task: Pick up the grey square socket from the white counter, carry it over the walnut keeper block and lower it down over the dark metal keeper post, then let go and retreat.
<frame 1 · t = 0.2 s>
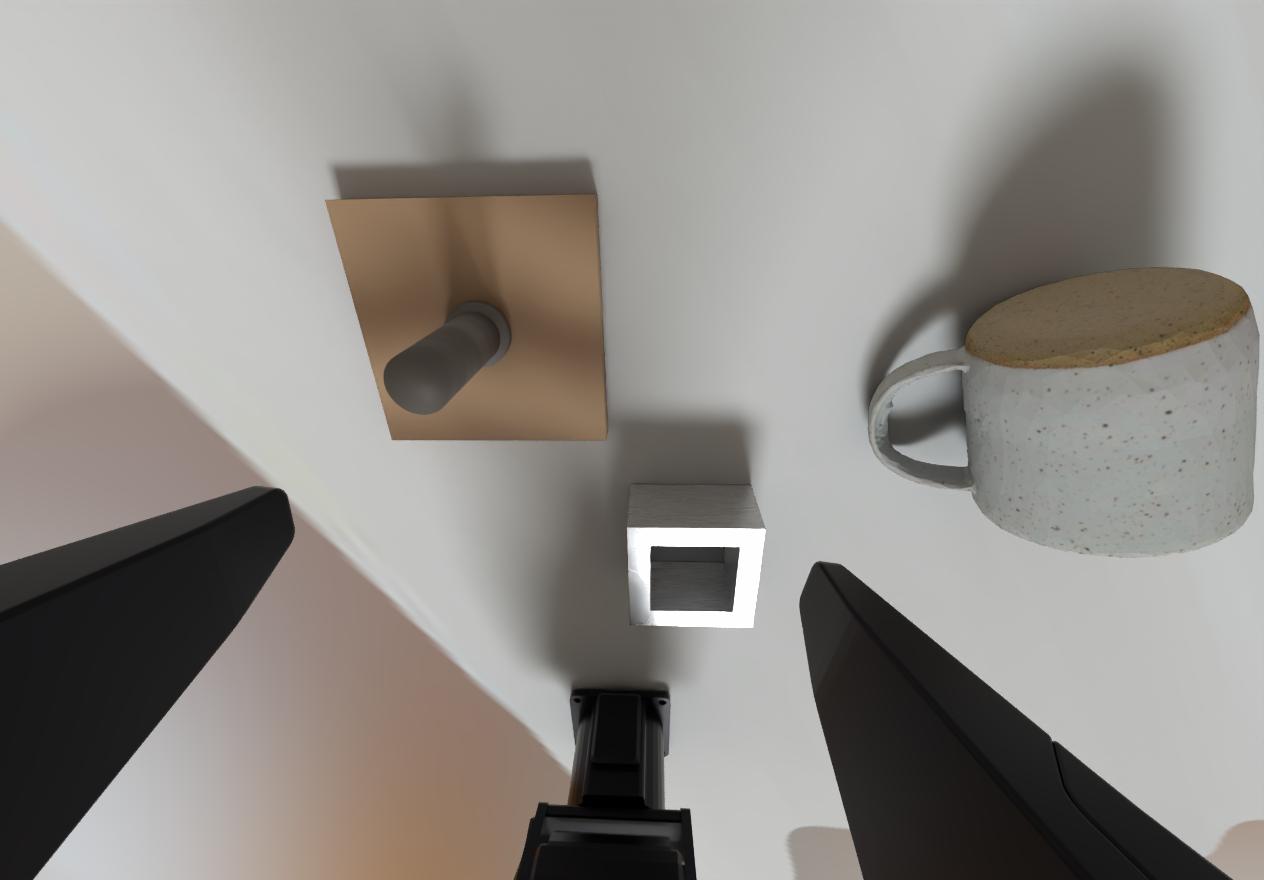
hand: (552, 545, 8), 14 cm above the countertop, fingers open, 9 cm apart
ceramic mug: (984, 388, 21), on the countertop
keeper: (487, 326, 21), on the countertop
grey square socket: (688, 532, 25), on the countertop
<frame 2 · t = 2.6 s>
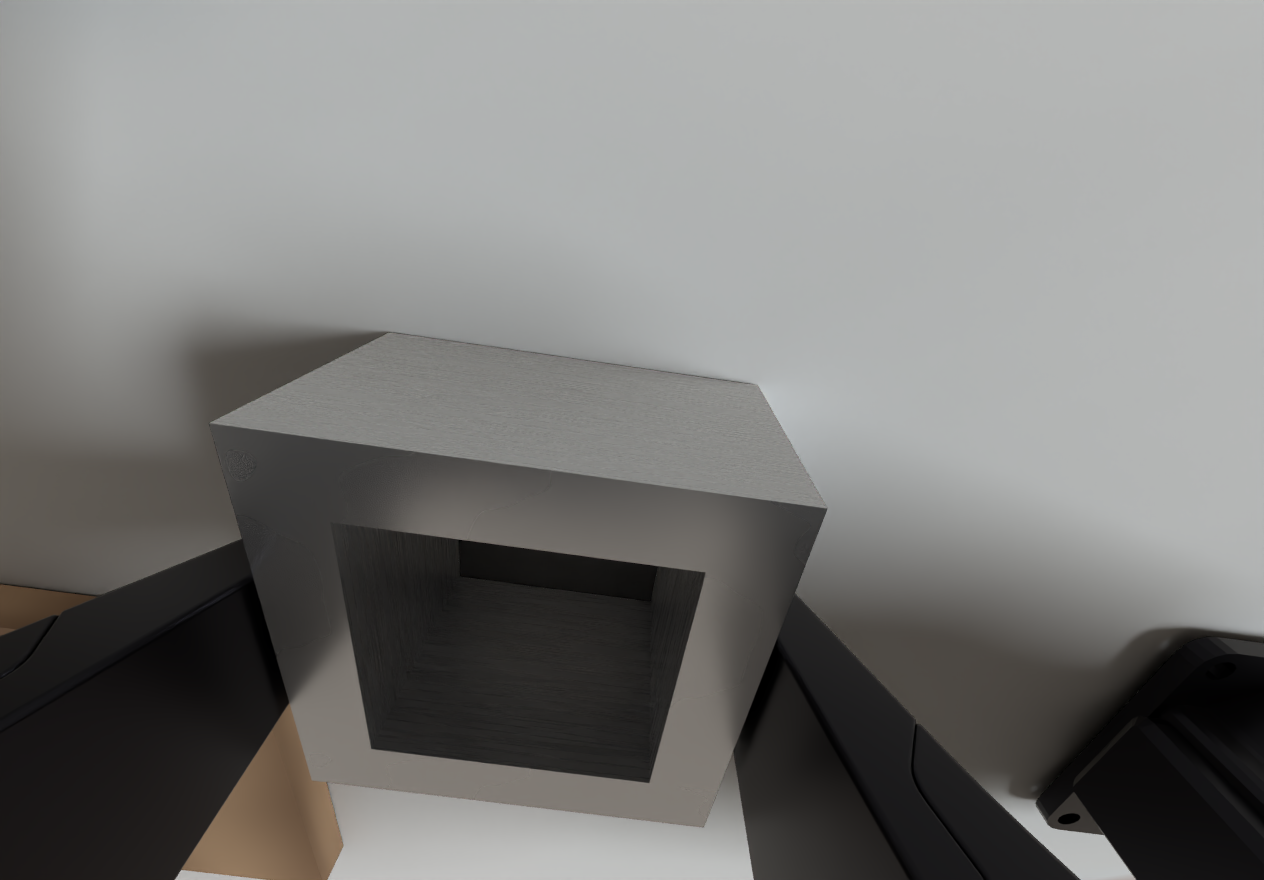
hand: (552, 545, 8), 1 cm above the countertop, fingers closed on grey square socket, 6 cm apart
keeper: (130, 729, 13), on the countertop
grey square socket: (562, 510, 9), on the countertop, touching gripper
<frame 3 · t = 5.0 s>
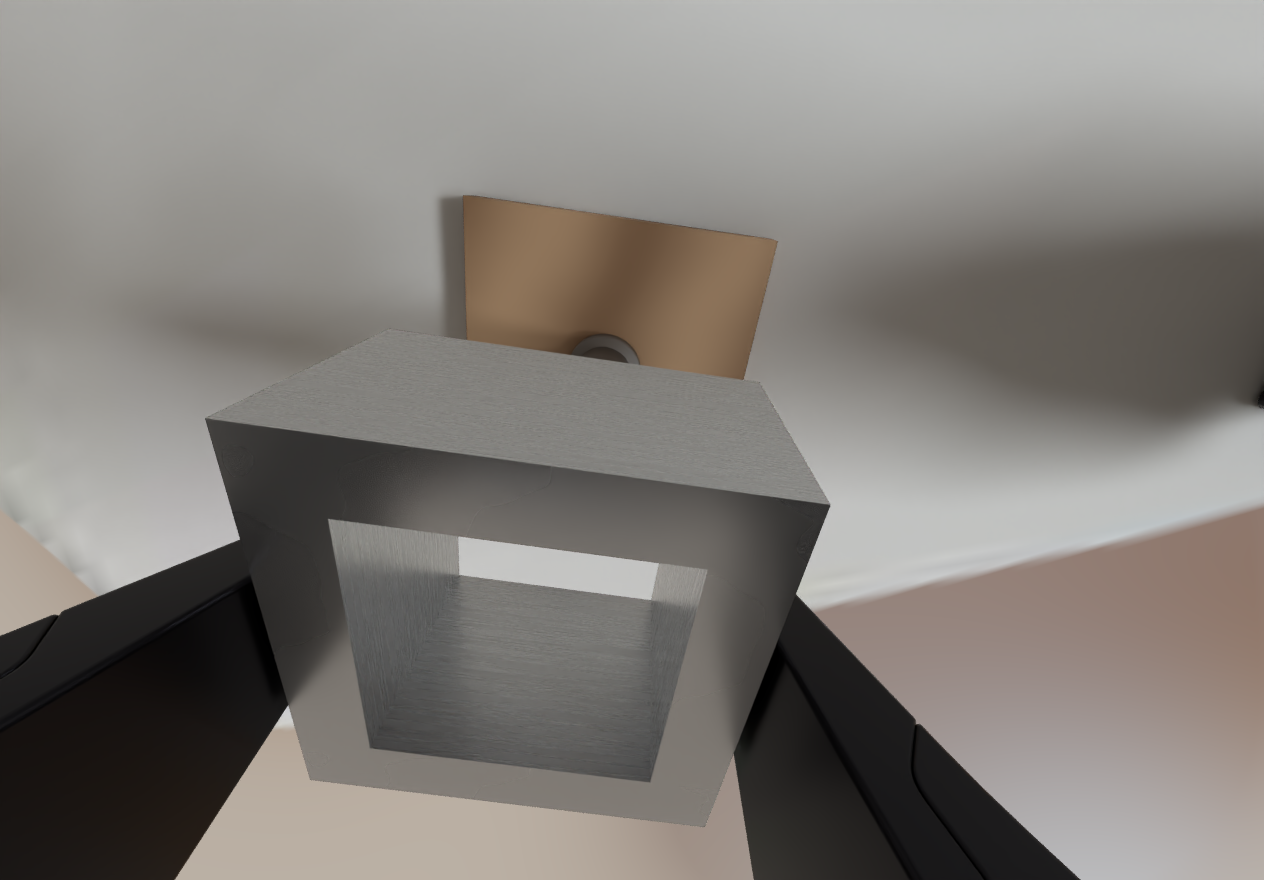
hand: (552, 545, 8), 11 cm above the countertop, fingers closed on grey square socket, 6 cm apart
keeper: (607, 361, 18), on the countertop
grey square socket: (562, 508, 9), point 10 cm above the countertop, touching gripper
when the fingers open (3 cm above the countertop, at t = 7.3 s): grey square socket drops 1 cm, resting on keeper.
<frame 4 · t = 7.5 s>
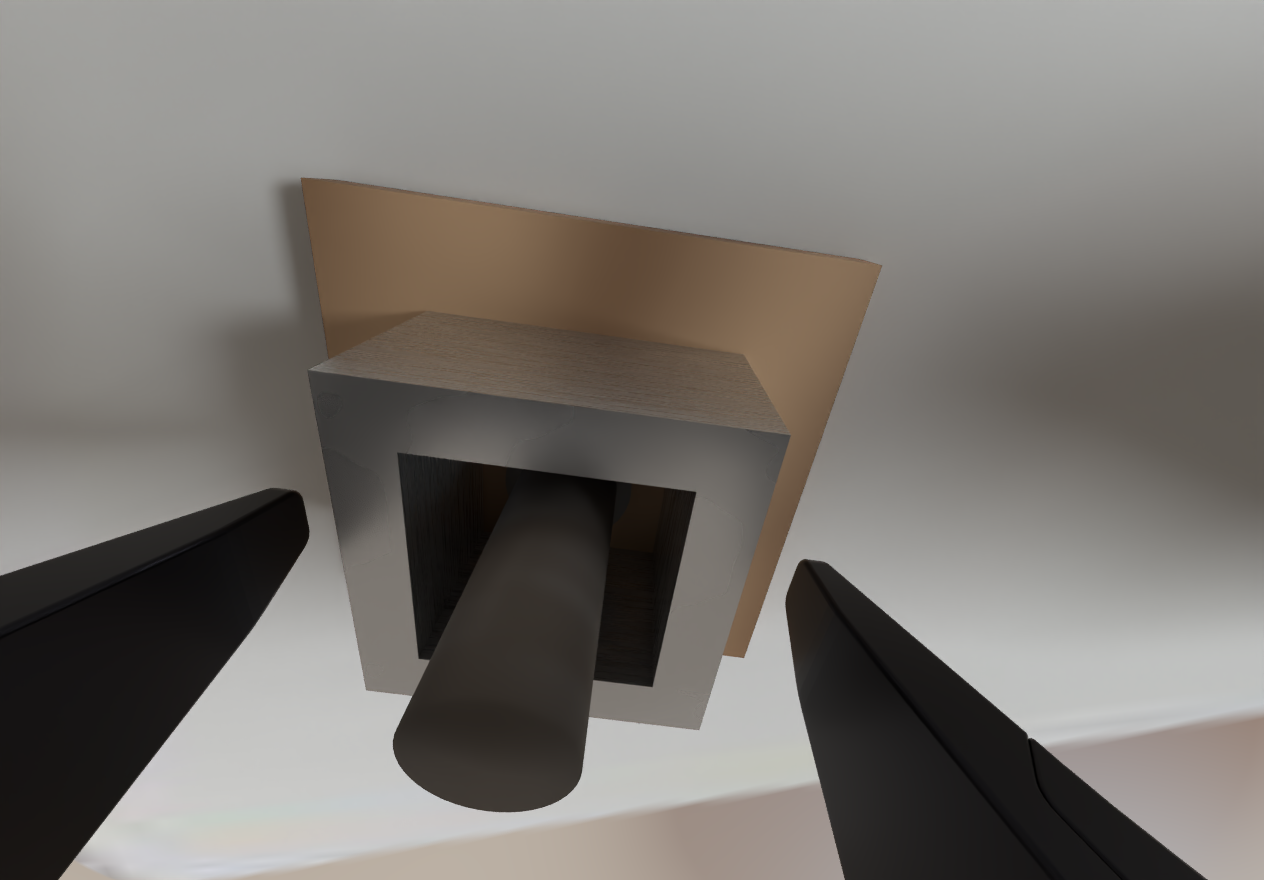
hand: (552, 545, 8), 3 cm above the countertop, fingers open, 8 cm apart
keeper: (579, 450, 11), on the countertop
grey square socket: (574, 469, 10), point 1 cm above the countertop, touching keeper
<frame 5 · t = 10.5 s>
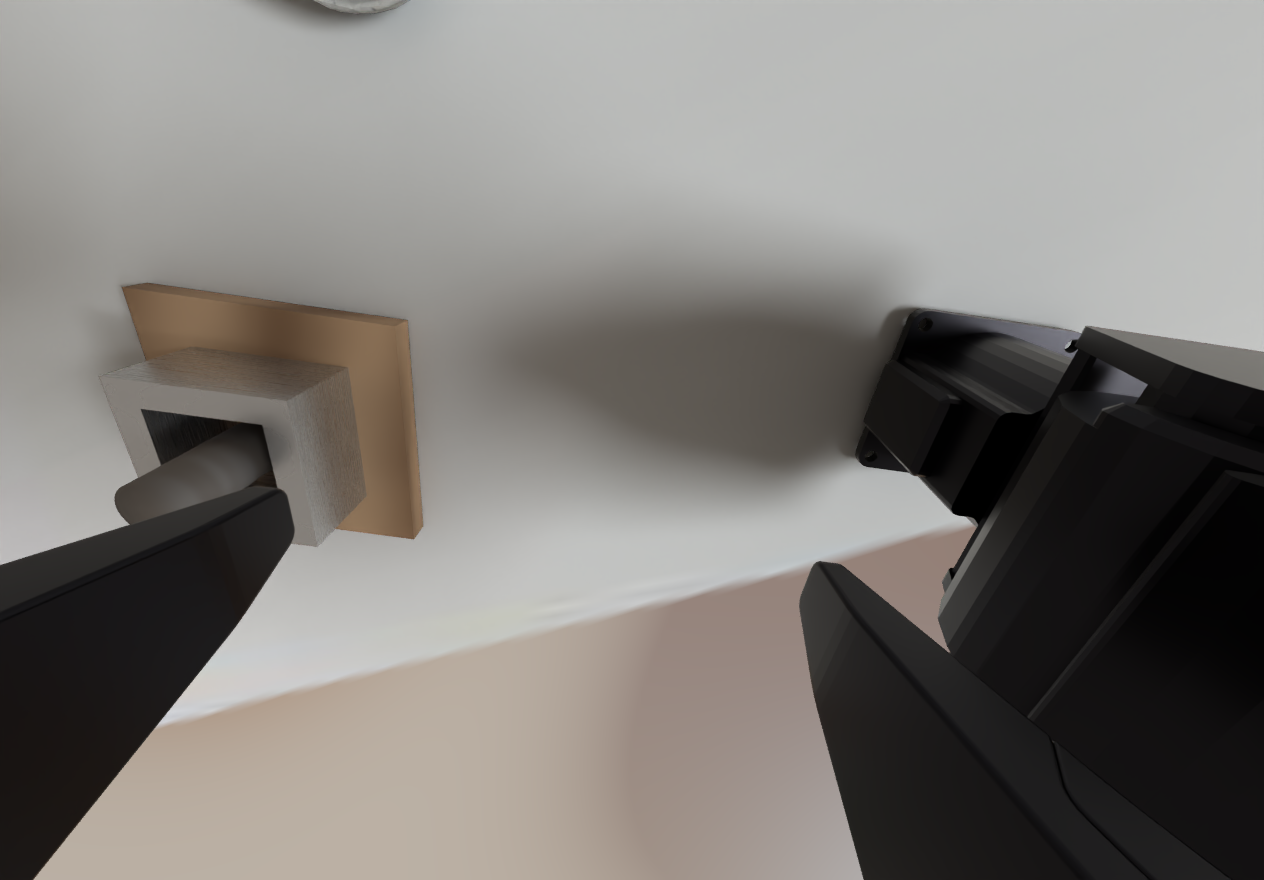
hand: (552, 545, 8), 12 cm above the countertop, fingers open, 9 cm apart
keeper: (300, 418, 21), on the countertop
grey square socket: (285, 426, 20), point 1 cm above the countertop, touching keeper
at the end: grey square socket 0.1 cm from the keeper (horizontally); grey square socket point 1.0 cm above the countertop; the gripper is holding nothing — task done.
